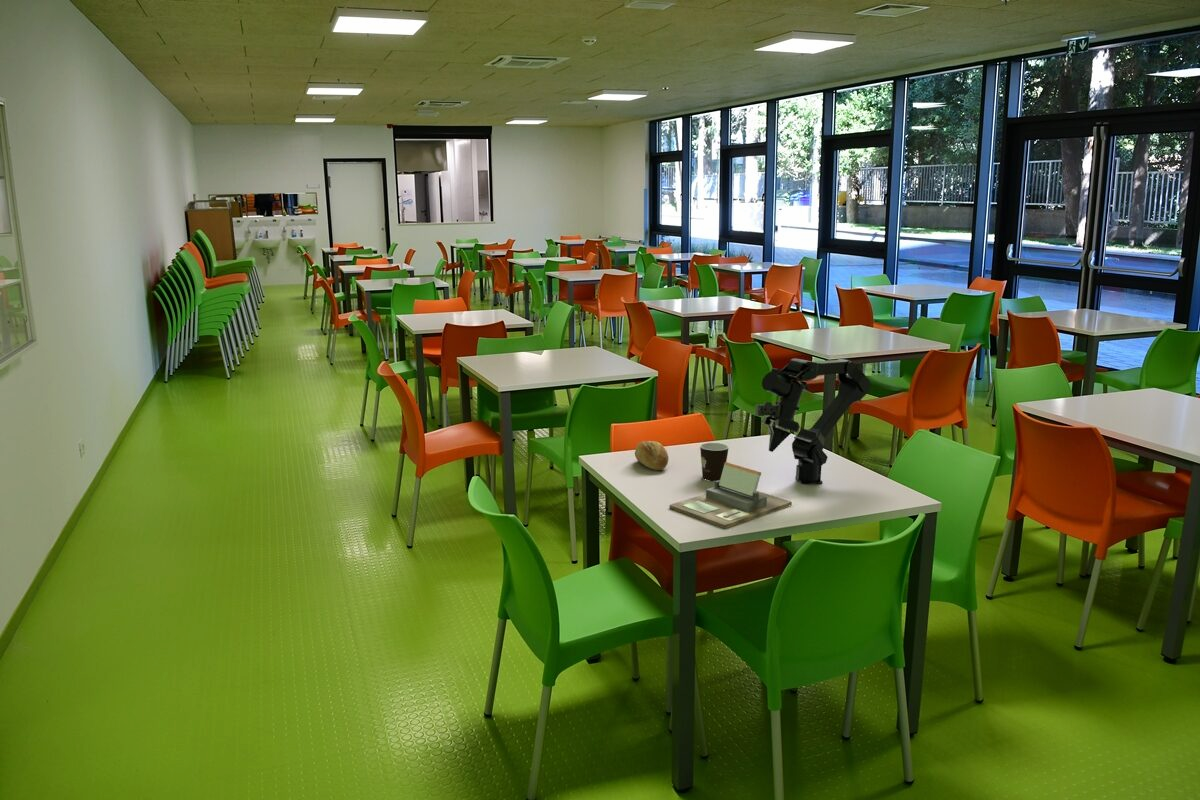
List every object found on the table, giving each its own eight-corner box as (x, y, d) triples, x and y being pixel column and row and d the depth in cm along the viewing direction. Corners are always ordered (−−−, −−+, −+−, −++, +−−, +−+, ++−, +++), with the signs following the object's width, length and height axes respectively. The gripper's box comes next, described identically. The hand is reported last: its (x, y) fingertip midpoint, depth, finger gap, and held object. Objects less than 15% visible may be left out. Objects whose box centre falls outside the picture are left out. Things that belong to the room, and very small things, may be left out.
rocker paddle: (720, 486, 245) (726, 462, 246) (755, 498, 236) (762, 472, 236) (717, 486, 245) (723, 461, 245) (752, 497, 235) (759, 472, 235)
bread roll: (646, 474, 268) (647, 449, 267) (628, 461, 282) (628, 437, 280) (674, 471, 272) (675, 446, 270) (655, 458, 285) (655, 434, 284)
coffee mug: (728, 482, 260) (729, 450, 258) (699, 482, 261) (700, 450, 259) (725, 471, 272) (726, 440, 270) (697, 470, 272) (698, 439, 270)
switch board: (736, 487, 256) (737, 470, 255) (791, 505, 241) (792, 487, 240) (669, 508, 238) (669, 490, 237) (724, 528, 224) (725, 509, 222)
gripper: (755, 390, 260) (737, 439, 260) (771, 391, 242) (752, 444, 242) (789, 403, 261) (772, 452, 261) (808, 405, 243) (789, 457, 242)
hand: (770, 451), depth 252 cm, fingers closed
